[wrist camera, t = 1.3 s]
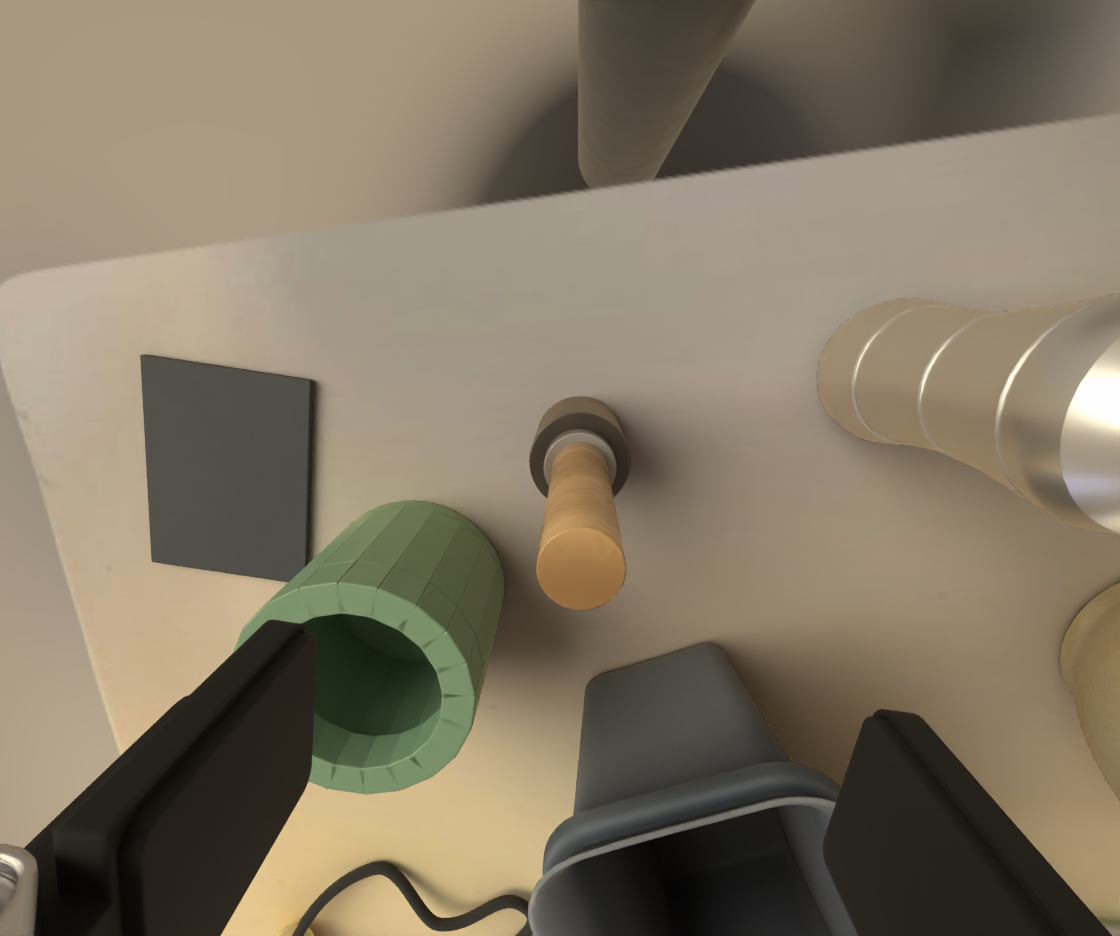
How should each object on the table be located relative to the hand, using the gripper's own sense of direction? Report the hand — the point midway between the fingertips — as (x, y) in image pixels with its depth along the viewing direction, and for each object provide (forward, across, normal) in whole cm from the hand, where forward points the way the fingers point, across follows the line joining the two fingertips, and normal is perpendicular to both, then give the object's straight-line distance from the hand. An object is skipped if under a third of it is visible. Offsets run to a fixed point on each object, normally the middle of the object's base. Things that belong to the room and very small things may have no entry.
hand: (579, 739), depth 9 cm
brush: (+22, 0, -1) cm, 22 cm away
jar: (+22, +8, +9) cm, 25 cm away
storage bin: (+22, -11, +18) cm, 31 cm away
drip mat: (+22, +19, +4) cm, 29 cm away
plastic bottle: (+22, -14, -7) cm, 27 cm away
